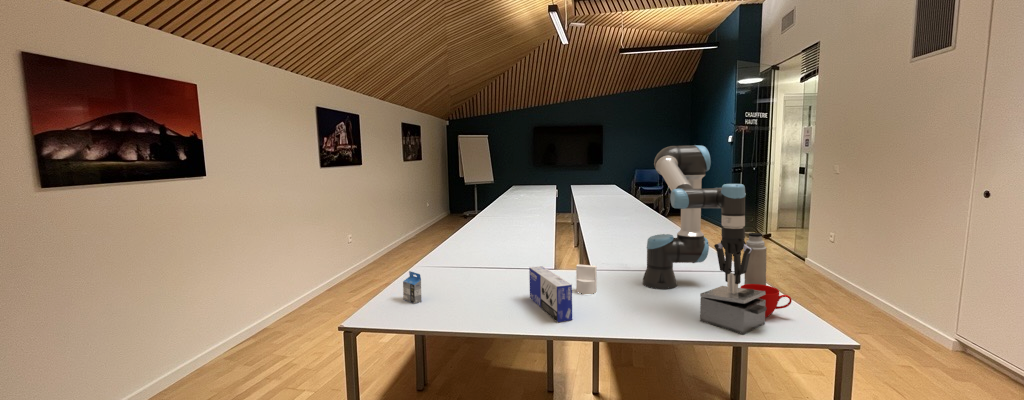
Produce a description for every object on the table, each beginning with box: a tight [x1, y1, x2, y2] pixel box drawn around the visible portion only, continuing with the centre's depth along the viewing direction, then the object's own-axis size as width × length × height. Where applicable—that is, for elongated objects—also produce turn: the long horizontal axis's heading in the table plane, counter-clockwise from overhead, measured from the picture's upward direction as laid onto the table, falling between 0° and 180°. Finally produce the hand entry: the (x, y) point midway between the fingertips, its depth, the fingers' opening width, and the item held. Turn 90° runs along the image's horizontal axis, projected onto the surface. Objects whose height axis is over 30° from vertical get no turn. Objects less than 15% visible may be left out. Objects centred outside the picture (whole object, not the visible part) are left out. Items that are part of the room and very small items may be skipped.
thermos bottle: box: [743, 232, 767, 285], centre depth 185 cm, size 8×8×28 cm
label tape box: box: [402, 270, 423, 304], centre depth 194 cm, size 9×4×12 cm, turn 47°
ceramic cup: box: [739, 284, 793, 318], centre depth 169 cm, size 13×17×10 cm
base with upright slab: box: [575, 263, 598, 295], centre depth 201 cm, size 9×9×12 cm
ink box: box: [528, 265, 573, 323], centre depth 181 cm, size 30×7×14 cm, turn 17°
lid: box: [700, 285, 766, 304], centre depth 162 cm, size 16×15×2 cm
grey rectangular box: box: [699, 296, 766, 335], centre depth 161 cm, size 18×15×9 cm
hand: (732, 291), depth 161 cm, fingers closed
